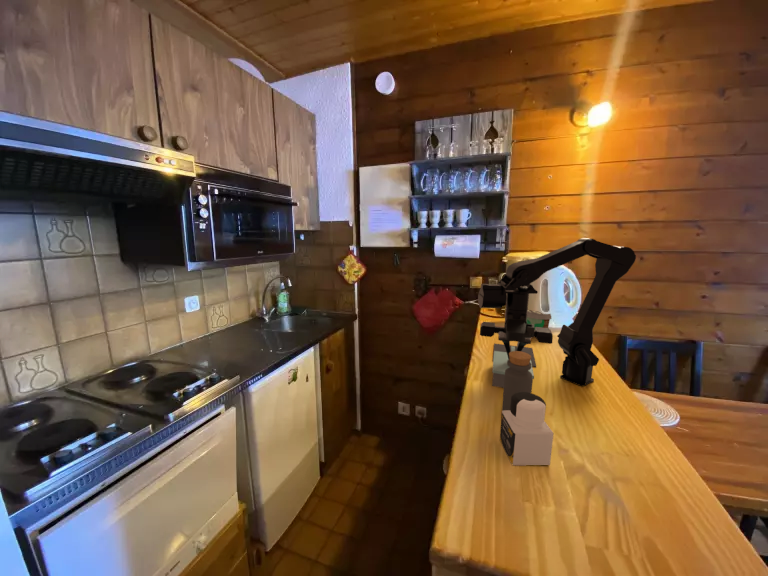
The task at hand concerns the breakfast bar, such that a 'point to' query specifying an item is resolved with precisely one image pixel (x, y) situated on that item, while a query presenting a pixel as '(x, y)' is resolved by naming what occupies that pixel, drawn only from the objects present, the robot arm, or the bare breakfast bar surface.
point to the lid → (504, 362)
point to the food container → (538, 319)
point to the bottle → (516, 376)
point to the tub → (500, 380)
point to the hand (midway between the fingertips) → (512, 360)
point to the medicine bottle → (526, 431)
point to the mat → (527, 350)
